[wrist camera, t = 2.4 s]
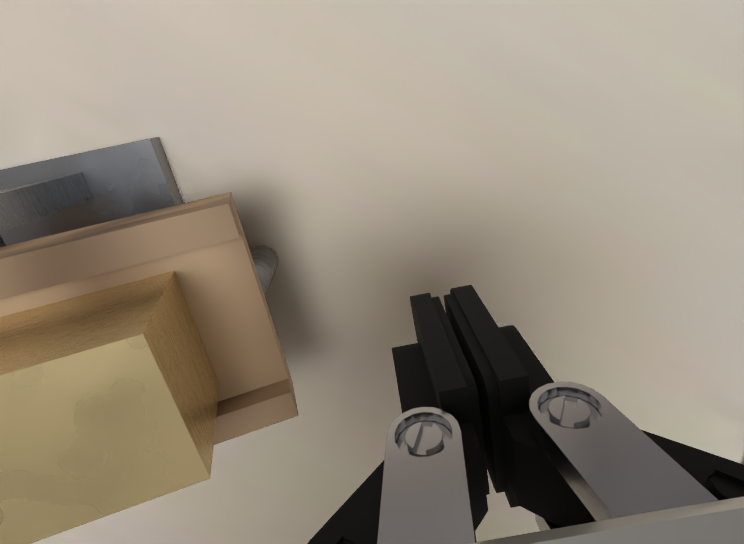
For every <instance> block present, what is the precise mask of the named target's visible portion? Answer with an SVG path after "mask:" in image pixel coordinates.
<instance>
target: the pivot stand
mask: <svg viewBox="0 0 744 544" xmlns="http://www.w3.org/2000/svg"><path fill="white" fill-rule="evenodd" d="M180 204H183V201H182V199H181V196H180V193H179V191H178V188H177V185H176V183H175V180H174V177H173V174H172V172H171V169H170V166H169V164H168V161H167V158H166V156H165V153H164V150H163V148H162V145H161V142H160V140H159V137H156V138H151V139H146V140H141V141H136V142H132V143H127V144H122V145H117V146H113V147H108V148H103V149H98V150H94V151H89V152H84V153H79V154H74V155H70V156H65V157H60V158H55V159H51V160H46V161H41V162H36V163H32V164H27V165H22V166H17V167H13V168H8V169H3V170H0V247H4V246H8V245H12V244H17V243H21V242H25V241H29V240H33V239H38V238H42V237H46V236H50V235H54V234H58V233H63V232H67V231H71V230H75V229H79V228H84V227H88V226H92V225H96V224H100V223H105V222H109V221H113V220H117V219H121V218H126V217H130V216H134V215H138V214H142V213H147V212H151V211H155V210H159V209H163V208H168V207H172V206H176V205H180ZM250 253H251V256H252V259H253V262H254V265H255V268H256V271H257V274H258V277H259V280H260V284H261V287H262V290H263V293H264V296H265V293H266V291H267V289H268V286H269V284H270V281H271V279H272V277H273V274H274V272H275V269H276V267H277V264H278V257H277V255H276V253H275V252H274V251H273V250H272V249H271V248H269V247H267V246H257V247H255V248H253V249H252V250H251V251H250Z"/></svg>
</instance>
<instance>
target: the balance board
mask: <svg viewBox="0 0 744 544" xmlns="http://www.w3.org/2000/svg"><path fill="white" fill-rule="evenodd" d="M171 271H174V272H175V274H176V277H177V279H178V282H179V284H180V287H181V289H182V292H183V294H184V296H185V299H186V301H187V304H188V306H189V309H190V311H191V314H192V316H193V319H194V321H195V324H196V326H197V328H198V331H199V333H200V336H201V338H202V341H203V343H204V346H205V348H206V351H207V353H208V356H209V358H210V361H211V363H212V365H213V368H214V370H215V373H216V375H217V378H218V380H219V383H220V385H219V395H218V405H217V415H216V425H215V435H214V445H215V444H218V443H221V442H224V441H226V440H229V439H232V438H235V437H238V436H241V435H244V434H246V433H249V432H252V431H255V430H258V429H261V428H264V427H267V426H269V425H272V424H275V423H278V422H281V421H284V420H287V419H290V418H292V417H295V416H298V410H297V405H296V399H295V394H294V388H293V383H292V379H291V376H290V373H289V370H288V367H287V364H286V361H285V358H284V354H283V351H282V348H281V345H280V342H279V339H278V336H277V333H276V330H275V327H274V324H273V321H272V317H271V314H270V311H269V308H268V305H267V302H266V299H265V296H264V293H263V290H262V287H261V284H260V280H259V277H258V274H257V271H256V268H255V265H254V262H253V259H252V256H251V253H250V250H249V247H248V243H247V240H246V237H245V234H244V231H243V228H242V225H241V222H240V219H239V216H238V213H237V209H236V206H235V203H234V200H233V197H232V194H231V192H230V193H226V194H222V195H218V196H214V197H209V198H205V199H201V200H197V201H193V202H188V203H184V204H180V205H176V206H172V207H168V208H163V209H159V210H155V211H151V212H147V213H142V214H138V215H134V216H130V217H126V218H121V219H117V220H113V221H109V222H105V223H100V224H96V225H92V226H88V227H84V228H79V229H75V230H71V231H67V232H63V233H58V234H54V235H50V236H46V237H42V238H38V239H33V240H29V241H25V242H21V243H17V244H12V245H8V246H4V247H0V317H2V316H6V315H10V314H13V313H17V312H21V311H25V310H28V309H32V308H36V307H40V306H43V305H47V304H51V303H55V302H58V301H62V300H66V299H70V298H73V297H77V296H81V295H85V294H88V293H92V292H96V291H100V290H103V289H107V288H111V287H115V286H118V285H122V284H126V283H130V282H133V281H137V280H141V279H145V278H148V277H152V276H156V275H160V274H163V273H167V272H171Z"/></svg>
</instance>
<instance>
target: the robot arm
mask: <svg viewBox="0 0 744 544" xmlns="http://www.w3.org/2000/svg"><path fill="white" fill-rule="evenodd" d="M450 293H451V294H448V295H444V302H445V309H446V312H445V310H444V308H443V306H442V303H441V301H440V299H439V297H433V298H432V297H431V295H430V293H426V294H421V295H416V296H411V297H410V301H411V307H412V313H413V319H414V324H415V330H416V336H417V341H418V343H415V344H410V345H405V346H399V347H394V348H392V353H393V359H394V365H395V371H396V377H397V383H398V389H399V396H400V402H401V408H402V414H401V415H400V416H398V417H397V418H396V419H395V420H394V421H393V422H392V424H391V425H390V426H389V429H388V433H387V437H386V449H385V460H384V461H383V462H382V463H381V464H380V465H379V466H378V467H377V468H376V469H375V471H374V472H373V473H372V474H371V475H370V476H369V477H368V478H367V479H366V480H365V481H364V482H363V484H362V485H361V486H360V487H359V488H358V489H357V490H356V491H355V492H354V493H353V494H352V495H351V497H350V498H349V499H348V500H347V501H346V502H345V503H344V504H343V505H342V506H341V507H340V508H339V510H338V511H337V512H336V513H335V514H334V515H333V516H332V517H331V518H330V519H329V520H328V521H327V523H326V524H325V525H324V526H323V527H322V528H321V529H320V530H319V531H318V532H317V533H316V534H315V536H314V537H313V538H312V539H311V540H310V541H309V542H308V544H744V465H743V464H740V463H737V462H734V461H731V460H728V459H725V458H722V457H719V456H716V455H713V454H710V453H707V452H705V451H702V450H699V449H696V448H693V447H690V446H687V445H684V444H681V443H678V442H675V441H672V440H669V439H666V438H663V437H660V436H658V435H655V434H652V433H649V432H646V431H643V430H640V429H639V428H638V427H637V426H636V425H635V424H634V423H632V422H631V421H630V420H629V419H628V418H627V417H626V416H625V415H624V414H622V413H621V412H620V411H619V410H618V409H617V408H616V407H615V406H614V405H612V404H611V403H610V402H609V401H608V400H607V399H606V398H605V397H604V396H602V395H601V394H599V393H598V392H597V391H595V390H594V389H591V388H589V387H587V386H584V385H581V384H577V383H572V382H555V383H554V381H553V380H552V378H551V377H550V376H549V374H548V373H547V371H546V370H545V368H544V367H543V366H542V364H541V363H540V361H539V360H538V359H537V357H536V356H535V354H534V353H533V352H532V350H531V349H530V347H529V346H528V344H527V343H526V342H525V340H524V339H523V337H522V336H521V335H520V333H519V332H518V330H517V329H516V328H515V327H514V326H513V325H510V326H505V327H499V328H498V326H497V324H496V323H495V321H494V320H493V318H492V317H491V315H490V313H489V312H488V310H487V309H486V307H485V305H484V304H483V302H482V301H481V299H480V298H479V296H478V294H477V293H476V291H475V290H474V288H473V287H472V285H468V286H462V287H457V288H452V289H451V290H450ZM487 469H488V472H489V475H490V478H491V480H492V483H493V486H494V488H495V491H496V492H497V493H499V492H504V491H505V494H506V497H507V499H508V502H509V504H510V507H517V506H521V507H523V508H525V509H527V510H529V511H531V512H533V513H535V518H536V522H537V524H538V527H539V529H540V531H539V532H534V533H528V534H522V535H517V536H511V537H505V538H499V539H494V540H488V541H482V542H476V535H475V530H476V529H477V527H478V526H479V524H480V522H481V521H482V519H483V518H484V516H485V515H486V513H487V511H488V506H487V497H486V495H487V494H489V484H488V475H487Z"/></svg>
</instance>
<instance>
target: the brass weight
mask: <svg viewBox="0 0 744 544" xmlns="http://www.w3.org/2000/svg"><path fill="white" fill-rule="evenodd" d="M219 385H220V383H219V380H218V378H217V375H216V373H215V370H214V368H213V365H212V363H211V361H210V358H209V356H208V353H207V351H206V348H205V346H204V343H203V341H202V338H201V336H200V333H199V331H198V328H197V326H196V324H195V321H194V319H193V316H192V314H191V311H190V309H189V306H188V304H187V301H186V299H185V296H184V294H183V292H182V289H181V287H180V284H179V282H178V279H177V277H176V274H175V272H174V271H171V272H167V273H163V274H160V275H156V276H152V277H148V278H145V279H141V280H137V281H133V282H130V283H126V284H122V285H118V286H115V287H111V288H107V289H103V290H100V291H96V292H92V293H88V294H85V295H81V296H77V297H73V298H70V299H66V300H62V301H58V302H55V303H51V304H47V305H43V306H40V307H36V308H32V309H28V310H25V311H21V312H17V313H13V314H10V315H6V316H2V317H0V544H30V543H33V542H36V541H39V540H41V539H44V538H47V537H50V536H52V535H55V534H58V533H61V532H63V531H66V530H69V529H72V528H74V527H77V526H80V525H83V524H86V523H88V522H91V521H94V520H97V519H99V518H102V517H105V516H108V515H110V514H113V513H116V512H119V511H121V510H124V509H127V508H130V507H132V506H135V505H138V504H141V503H143V502H146V501H149V500H152V499H154V498H157V497H160V496H163V495H165V494H168V493H171V492H174V491H176V490H179V489H182V488H185V487H187V486H190V485H193V484H196V483H199V482H201V481H204V480H207V479H210V475H211V465H212V455H213V445H214V435H215V425H216V415H217V405H218V395H219Z"/></svg>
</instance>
